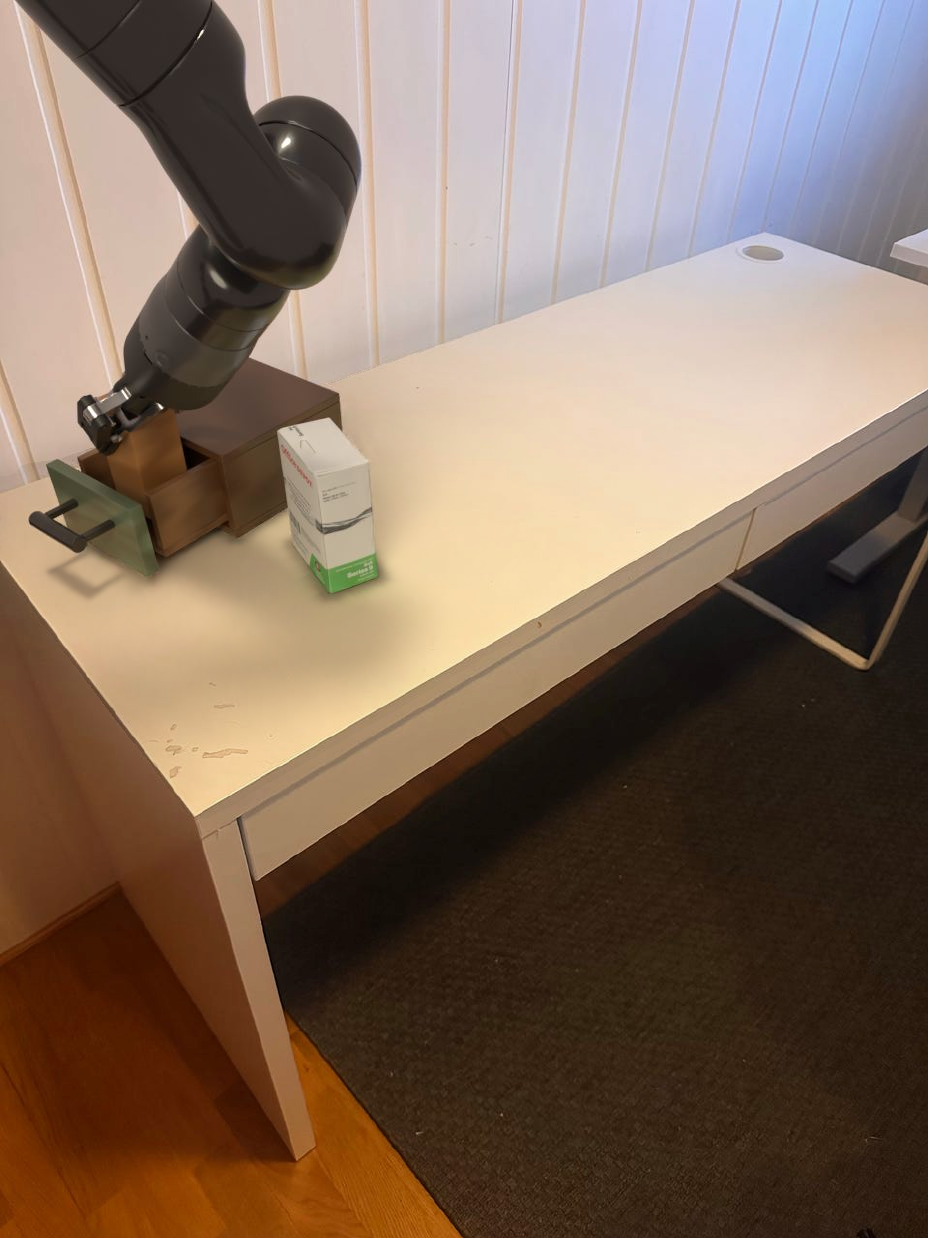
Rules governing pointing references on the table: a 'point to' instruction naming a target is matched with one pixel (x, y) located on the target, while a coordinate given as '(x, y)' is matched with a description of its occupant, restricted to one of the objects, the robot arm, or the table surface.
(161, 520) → the drawer
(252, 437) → the cabinet
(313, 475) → the ink box
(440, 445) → the table surface
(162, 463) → the brown wooden block
